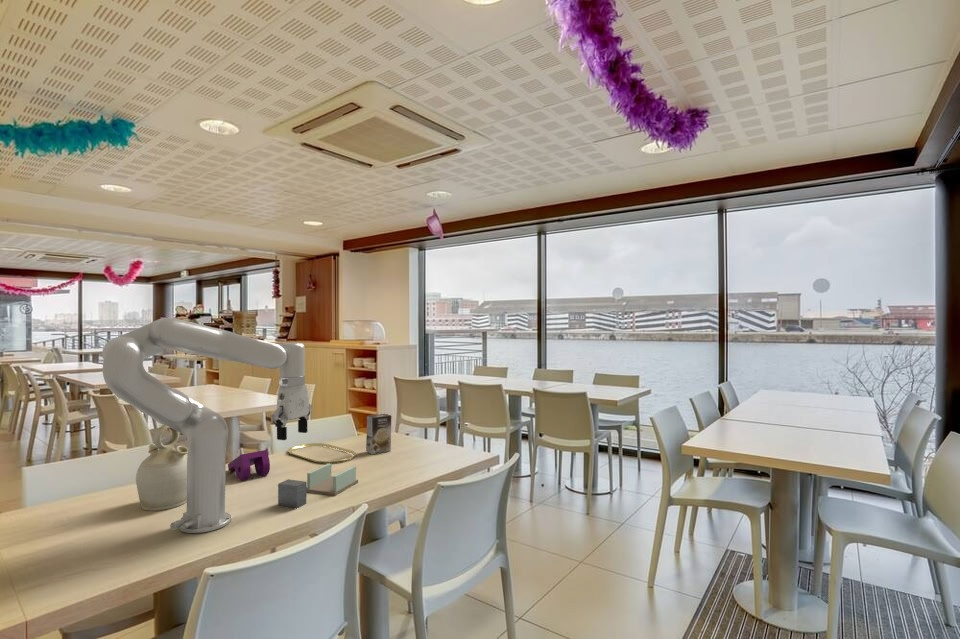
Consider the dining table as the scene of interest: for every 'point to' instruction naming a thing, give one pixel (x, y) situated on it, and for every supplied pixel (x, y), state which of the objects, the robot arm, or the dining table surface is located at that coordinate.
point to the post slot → (330, 480)
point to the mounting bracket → (250, 464)
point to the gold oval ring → (320, 445)
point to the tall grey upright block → (292, 493)
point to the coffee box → (378, 433)
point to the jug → (163, 474)
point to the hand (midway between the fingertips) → (292, 436)
